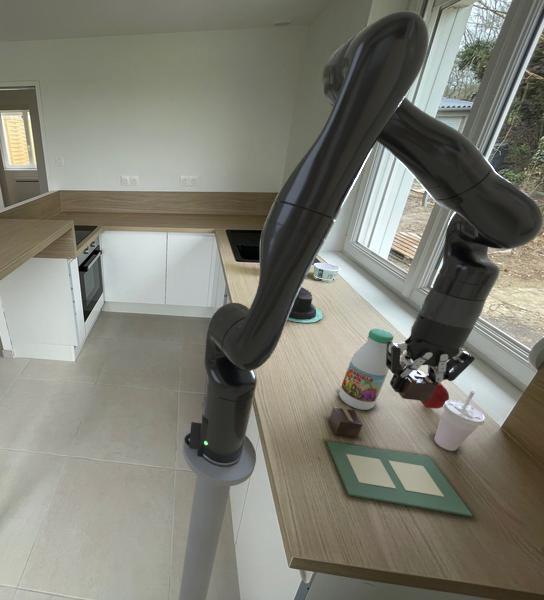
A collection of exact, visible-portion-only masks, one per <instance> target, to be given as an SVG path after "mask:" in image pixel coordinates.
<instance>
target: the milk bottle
mask: <svg viewBox="0 0 544 600" xmlns="http://www.w3.org/2000/svg"><path fill="white" fill-rule="evenodd" d="M393 340H394V334H393V333H391V332H390V331H388V330H385V329H381V328H371V329H370V330H369V332H368V336H367V340H366V342H365V343H364V344H363V345H362V346H361V347H360V348H358V349H357V350H356V351H355V352H354V353H353V355H352V357H351V359H350V362H349V363H348V367H347V369H346V372H345V375H344V378H343V380H342V383H341V385H340V388H339V392H338V394H339V398H340V400H342V401H343V402H344V403H345V404H346V405H348V406H350V407H351V408H354V409H356V410H362V411H367V410H371V409H373V407H374V406H375V404H376V402H377V399H378V397H379V395H380V392H381V390H382V387H384V383H385V380H386V378H387V376H388V373H389V371H390V369H389V368H388V367H387V366H386V349H387V342H389V341H393Z"/></svg>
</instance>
